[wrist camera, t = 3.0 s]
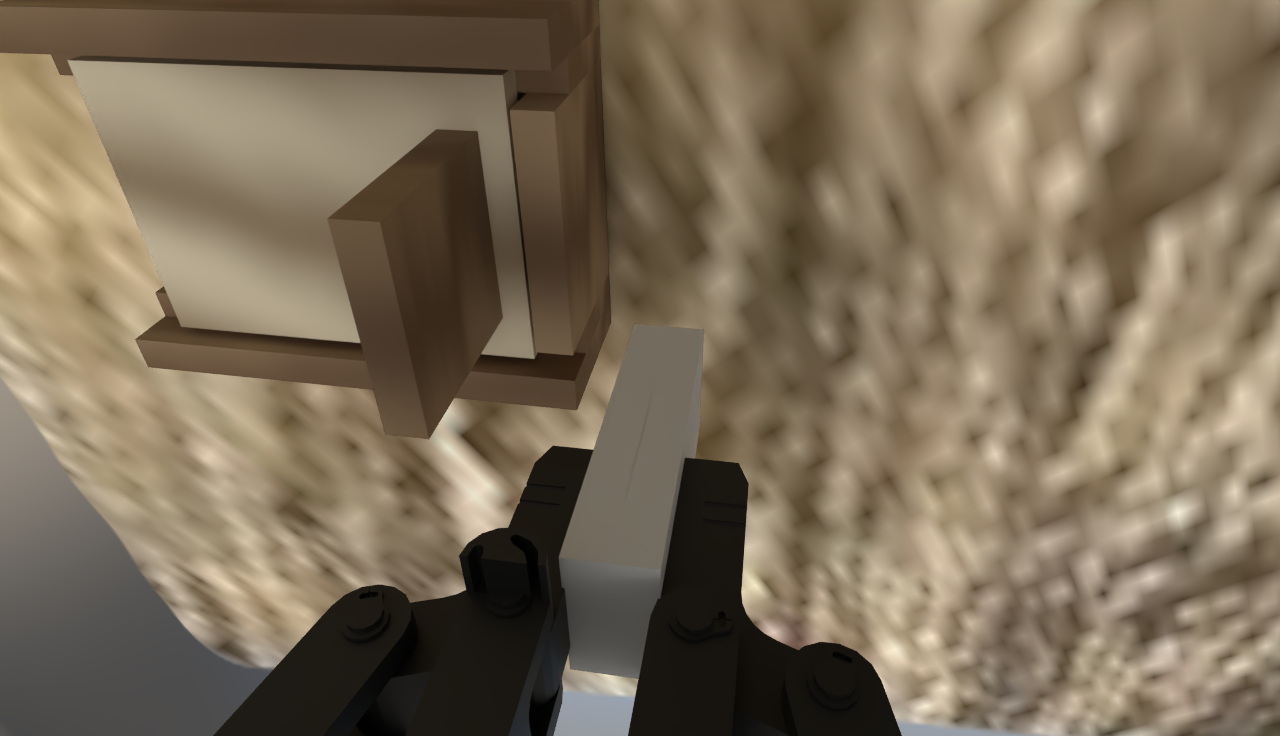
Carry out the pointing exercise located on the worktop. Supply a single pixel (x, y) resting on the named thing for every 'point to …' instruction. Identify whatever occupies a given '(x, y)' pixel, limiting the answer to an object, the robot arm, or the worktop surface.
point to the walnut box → (398, 36)
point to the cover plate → (329, 208)
